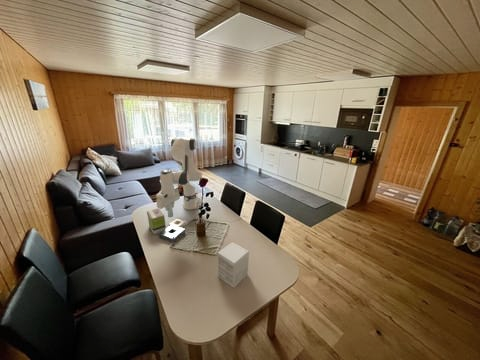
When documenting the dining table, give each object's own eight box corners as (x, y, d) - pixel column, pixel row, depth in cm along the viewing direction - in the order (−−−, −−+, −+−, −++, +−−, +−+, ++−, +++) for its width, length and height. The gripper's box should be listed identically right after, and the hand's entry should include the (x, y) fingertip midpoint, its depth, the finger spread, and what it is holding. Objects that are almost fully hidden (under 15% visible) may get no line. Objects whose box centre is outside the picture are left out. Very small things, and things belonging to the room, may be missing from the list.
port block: (171, 228, 161) (171, 224, 159) (185, 233, 156) (185, 228, 154) (159, 238, 148) (158, 233, 147) (173, 243, 143) (172, 237, 142)
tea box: (148, 226, 163) (146, 210, 158) (161, 222, 169) (159, 207, 164) (153, 235, 152) (151, 218, 147) (166, 230, 158) (164, 214, 153)
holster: (176, 221, 172) (176, 218, 171) (186, 224, 168) (185, 221, 167) (168, 227, 163) (168, 224, 162) (178, 230, 159) (178, 226, 158)
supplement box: (232, 264, 125) (232, 241, 119) (248, 274, 117) (249, 250, 112) (217, 276, 115) (216, 252, 110) (233, 288, 107) (234, 263, 102)
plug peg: (170, 214, 149) (169, 200, 145) (174, 215, 147) (173, 201, 143) (166, 216, 145) (164, 202, 141) (170, 218, 144) (169, 203, 140)
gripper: (174, 186, 150) (176, 202, 155) (154, 196, 132) (156, 213, 137) (181, 187, 148) (182, 204, 152) (161, 197, 130) (163, 215, 134)
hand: (169, 208), depth 144 cm, fingers closed on plug peg, 4 cm apart
